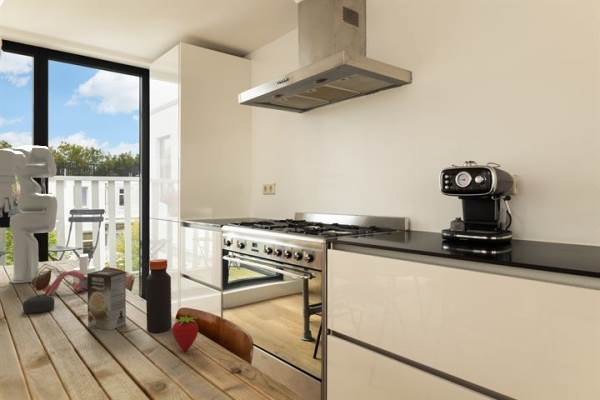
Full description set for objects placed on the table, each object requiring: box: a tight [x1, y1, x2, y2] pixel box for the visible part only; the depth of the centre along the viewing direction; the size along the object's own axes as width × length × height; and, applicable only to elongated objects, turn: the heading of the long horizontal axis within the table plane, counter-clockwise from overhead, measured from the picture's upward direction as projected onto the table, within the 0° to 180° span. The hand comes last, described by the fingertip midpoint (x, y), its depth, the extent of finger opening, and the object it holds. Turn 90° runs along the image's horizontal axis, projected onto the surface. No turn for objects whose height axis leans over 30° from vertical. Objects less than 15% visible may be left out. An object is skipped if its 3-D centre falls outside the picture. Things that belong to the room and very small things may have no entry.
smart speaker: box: [22, 296, 55, 315], centre depth 130 cm, size 9×9×4 cm
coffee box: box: [86, 269, 127, 331], centre depth 114 cm, size 9×6×16 cm
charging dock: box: [79, 274, 87, 291], centre depth 161 cm, size 15×2×5 cm, turn 46°
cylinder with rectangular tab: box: [72, 253, 96, 284], centre depth 176 cm, size 9×9×12 cm
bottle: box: [145, 258, 173, 334], centre depth 110 cm, size 7×7×20 cm
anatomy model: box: [30, 263, 85, 297], centre depth 155 cm, size 11×15×17 cm
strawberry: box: [172, 311, 199, 352], centre depth 94 cm, size 6×8×10 cm
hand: (4, 227), depth 150 cm, fingers closed
